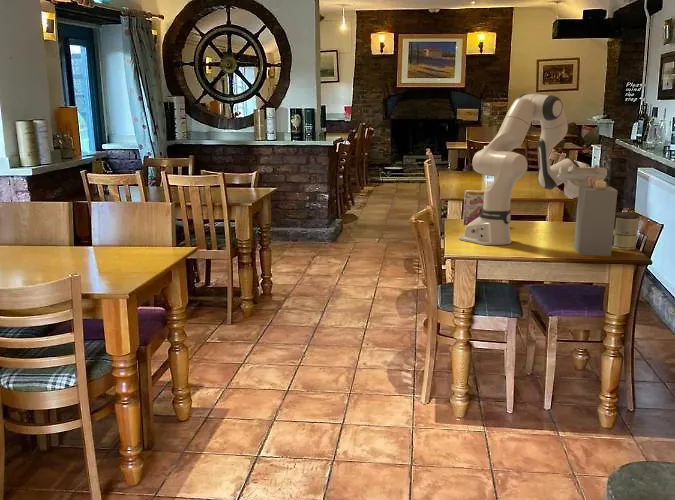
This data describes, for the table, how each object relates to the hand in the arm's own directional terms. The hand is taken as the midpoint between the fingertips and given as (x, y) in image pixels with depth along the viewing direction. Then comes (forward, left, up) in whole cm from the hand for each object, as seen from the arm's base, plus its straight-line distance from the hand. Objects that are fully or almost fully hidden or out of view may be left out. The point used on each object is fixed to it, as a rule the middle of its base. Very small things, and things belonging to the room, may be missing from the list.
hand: (585, 166), depth 289 cm
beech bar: (+11, -19, -6) cm, 23 cm away
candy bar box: (-51, -1, -32) cm, 60 cm away
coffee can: (+20, -6, -32) cm, 38 cm away
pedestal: (+13, -23, -32) cm, 41 cm away
